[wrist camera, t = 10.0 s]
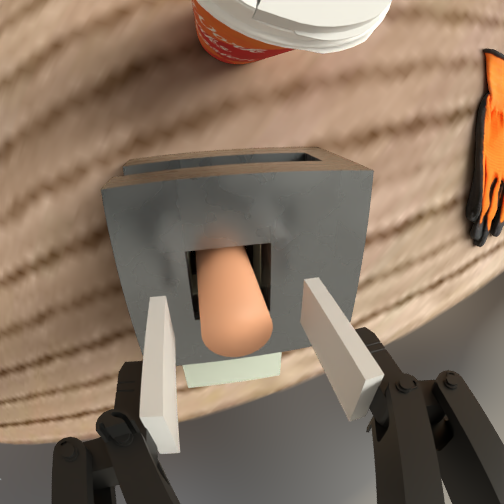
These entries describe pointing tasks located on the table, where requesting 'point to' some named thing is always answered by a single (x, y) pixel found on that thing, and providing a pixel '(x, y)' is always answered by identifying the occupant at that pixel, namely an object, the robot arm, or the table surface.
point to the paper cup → (283, 26)
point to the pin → (231, 303)
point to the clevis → (238, 233)
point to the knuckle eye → (236, 367)
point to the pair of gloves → (489, 156)
